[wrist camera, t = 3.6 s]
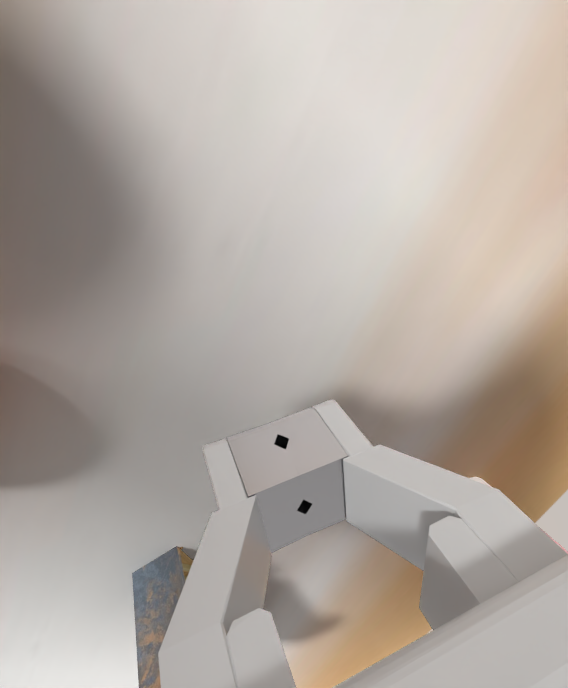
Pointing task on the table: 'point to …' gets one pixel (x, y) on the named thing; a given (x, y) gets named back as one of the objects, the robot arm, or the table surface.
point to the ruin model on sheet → (156, 609)
